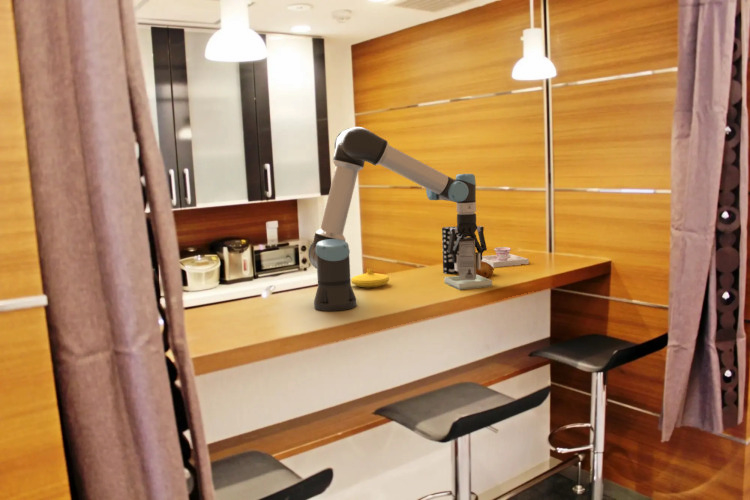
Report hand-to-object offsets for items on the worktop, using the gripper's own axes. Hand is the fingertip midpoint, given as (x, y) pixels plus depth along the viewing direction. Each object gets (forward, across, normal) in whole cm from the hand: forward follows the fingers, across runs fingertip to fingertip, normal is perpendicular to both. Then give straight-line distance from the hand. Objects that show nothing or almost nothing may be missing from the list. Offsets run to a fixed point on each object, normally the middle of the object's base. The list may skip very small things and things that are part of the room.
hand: (467, 269), depth 247 cm
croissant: (+7, +11, +16) cm, 20 cm away
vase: (+6, -36, +16) cm, 40 cm away
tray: (+6, 0, 0) cm, 6 cm away
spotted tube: (+6, +5, +28) cm, 29 cm away
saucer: (+6, +35, +38) cm, 52 cm away
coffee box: (+4, 0, 0) cm, 4 cm away
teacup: (+6, +36, +39) cm, 53 cm away
